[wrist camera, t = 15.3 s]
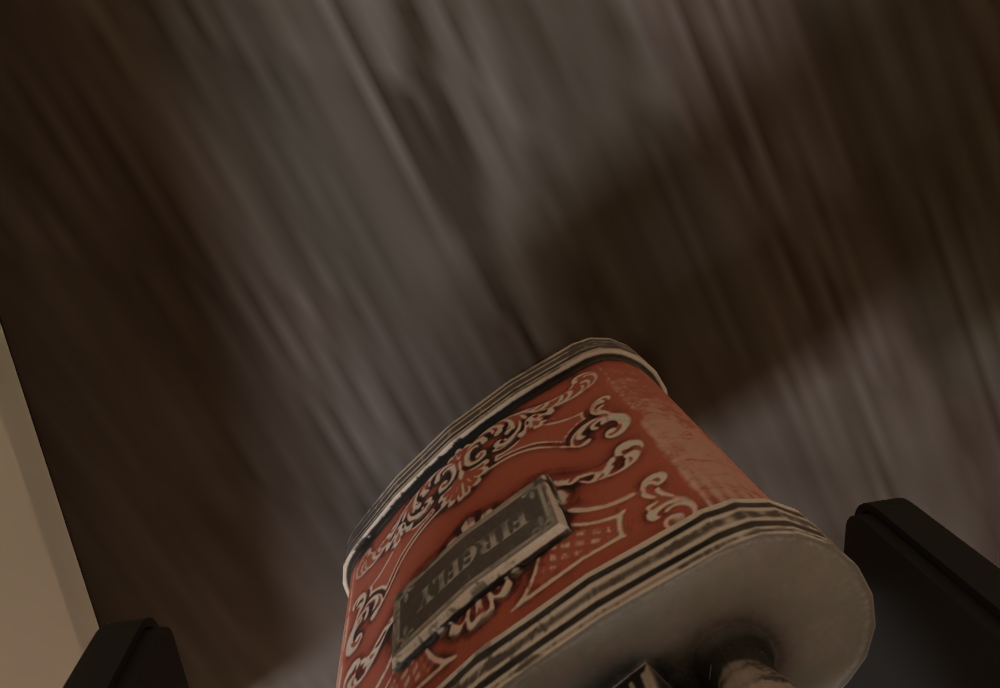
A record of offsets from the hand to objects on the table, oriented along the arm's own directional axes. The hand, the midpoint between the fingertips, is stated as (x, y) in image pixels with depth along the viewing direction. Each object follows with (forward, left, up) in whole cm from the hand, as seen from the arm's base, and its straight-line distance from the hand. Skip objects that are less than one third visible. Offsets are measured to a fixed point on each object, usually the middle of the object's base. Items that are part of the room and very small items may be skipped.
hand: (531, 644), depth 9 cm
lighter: (0, +1, -6) cm, 6 cm away
